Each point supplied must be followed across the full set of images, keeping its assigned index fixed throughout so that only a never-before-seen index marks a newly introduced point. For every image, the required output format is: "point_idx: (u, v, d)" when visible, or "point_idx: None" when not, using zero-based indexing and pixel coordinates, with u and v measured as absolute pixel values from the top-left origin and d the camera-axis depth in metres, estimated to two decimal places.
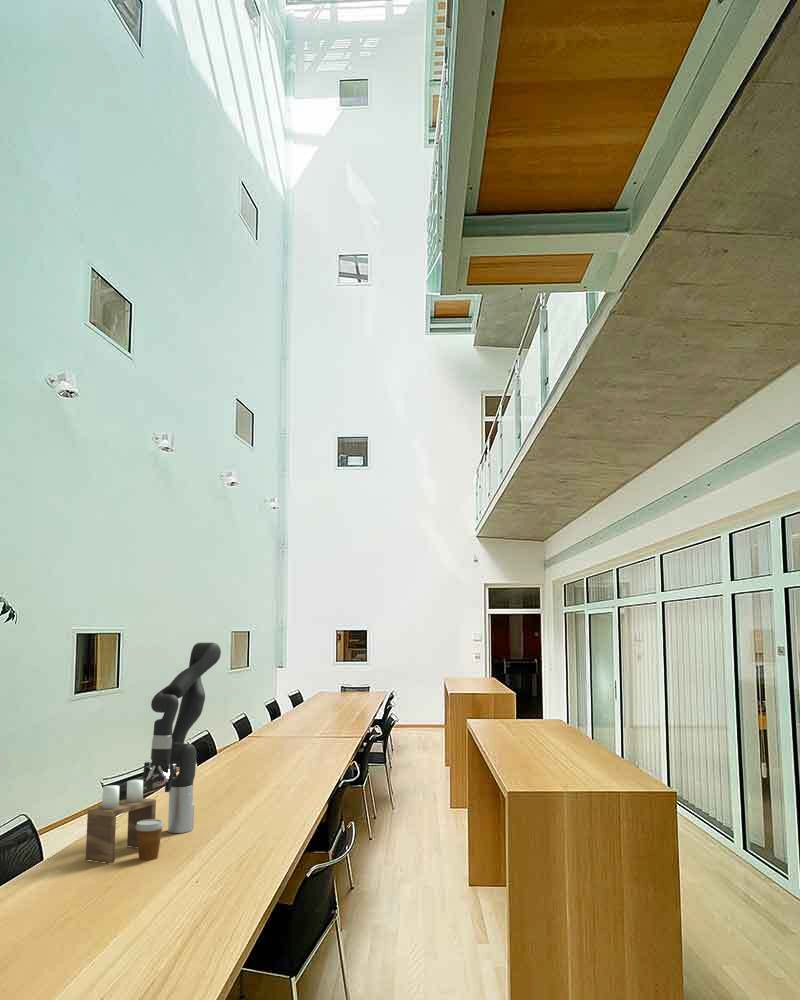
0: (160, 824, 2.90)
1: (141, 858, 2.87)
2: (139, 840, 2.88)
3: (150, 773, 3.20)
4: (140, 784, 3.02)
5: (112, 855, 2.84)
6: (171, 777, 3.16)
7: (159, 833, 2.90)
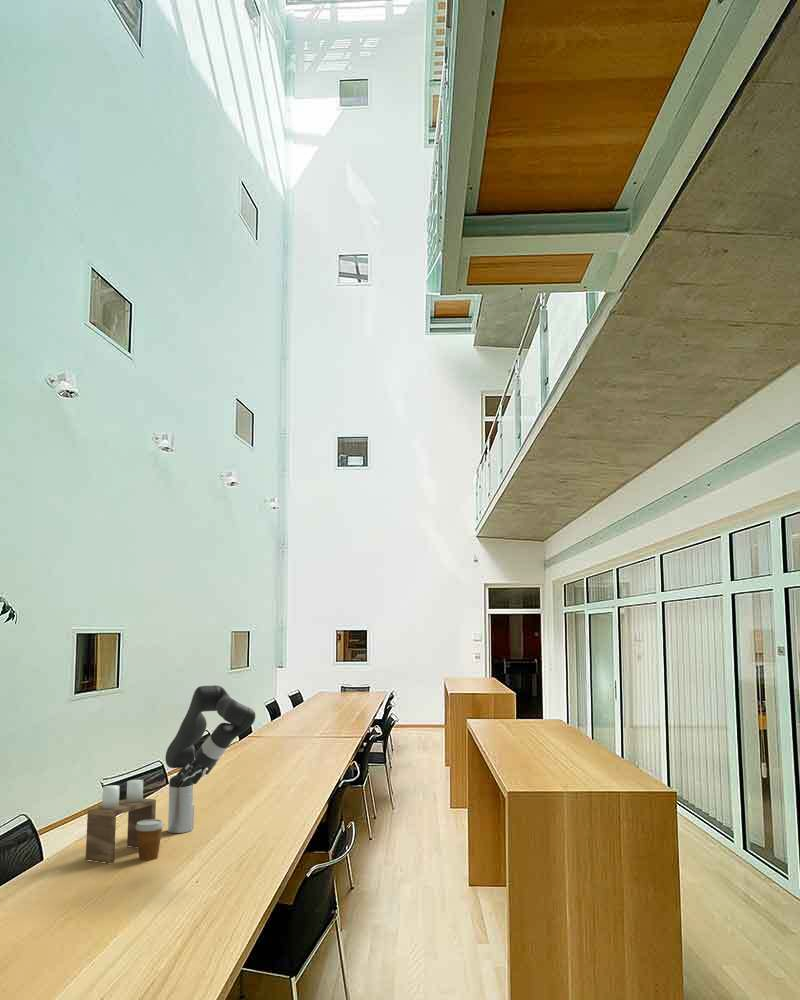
0: (160, 824, 2.90)
1: (141, 858, 2.87)
2: (139, 840, 2.88)
3: (192, 775, 2.82)
4: (140, 784, 3.02)
5: (112, 855, 2.84)
6: (208, 772, 2.91)
7: (159, 833, 2.90)
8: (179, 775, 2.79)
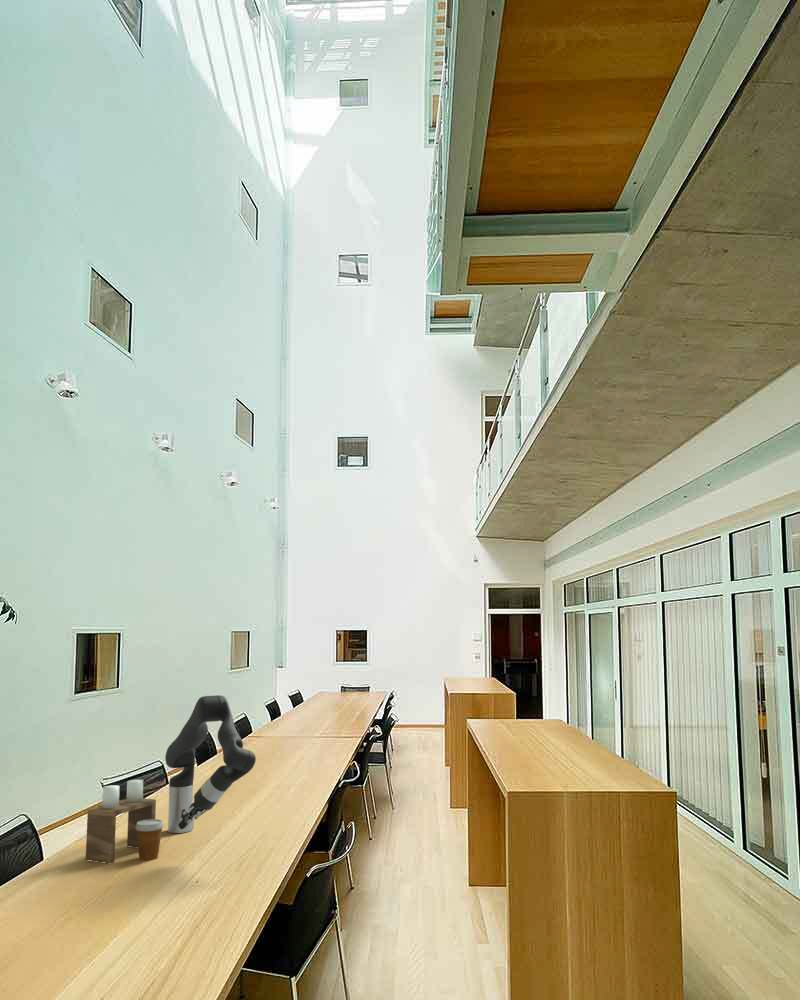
0: (160, 824, 2.90)
1: (141, 858, 2.87)
2: (139, 840, 2.88)
3: (193, 817, 2.83)
4: (140, 784, 3.02)
5: (112, 855, 2.84)
6: (197, 817, 2.87)
7: (159, 833, 2.90)
8: (183, 818, 2.82)
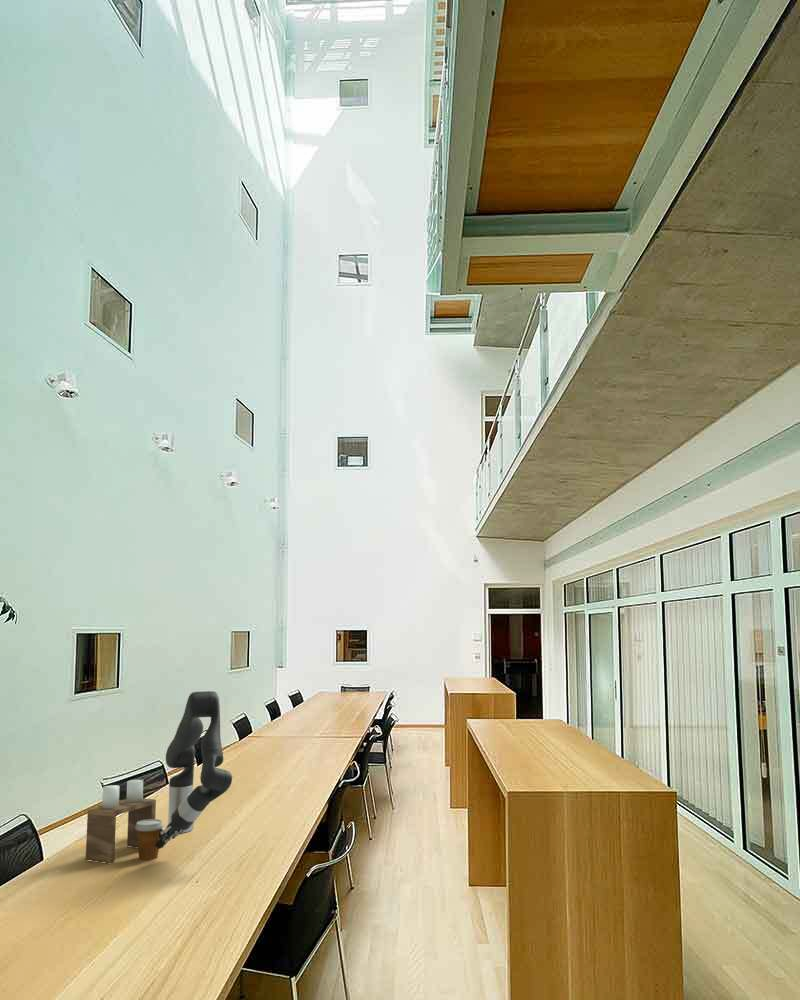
0: (160, 824, 2.90)
1: (141, 858, 2.87)
2: (139, 840, 2.88)
3: (171, 837, 2.86)
4: (140, 784, 3.02)
5: (112, 855, 2.84)
6: (175, 836, 2.90)
7: None
8: (160, 838, 2.85)
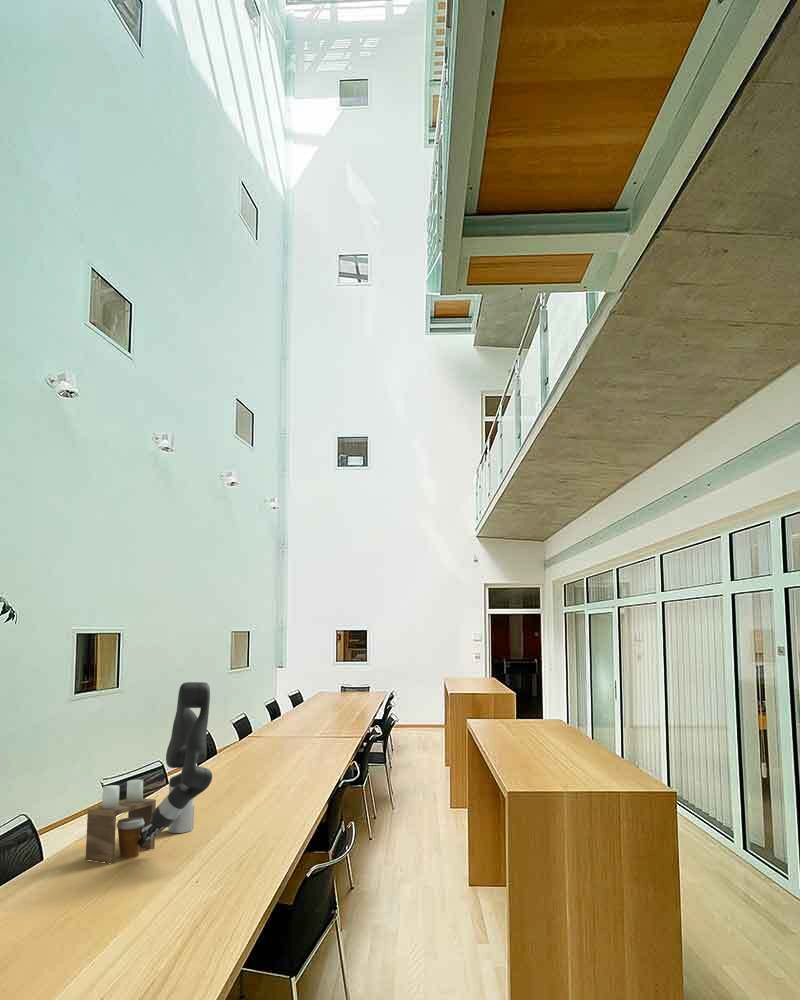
0: (141, 822, 2.93)
1: (122, 856, 2.90)
2: (120, 838, 2.91)
3: (152, 834, 2.89)
4: (140, 784, 3.02)
5: (112, 855, 2.84)
6: (156, 834, 2.93)
7: None
8: (141, 835, 2.88)
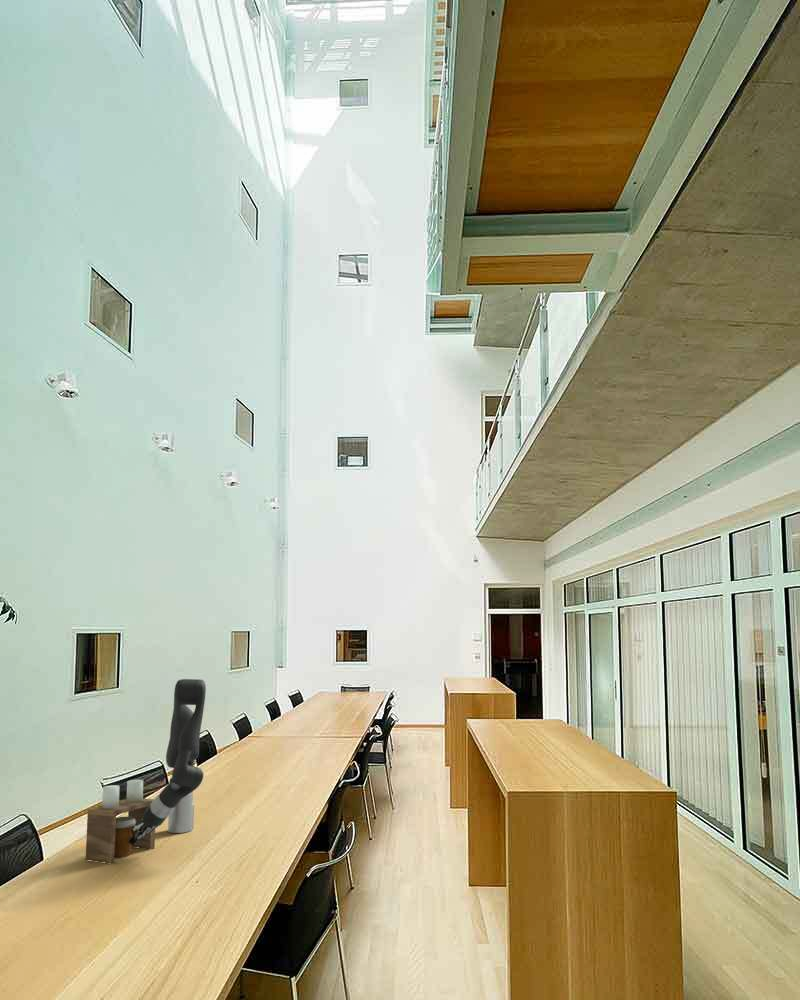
0: (133, 821, 2.95)
1: (114, 855, 2.91)
2: None
3: (143, 833, 2.91)
4: (140, 784, 3.02)
5: (112, 855, 2.84)
6: (148, 833, 2.94)
7: None
8: (133, 834, 2.90)
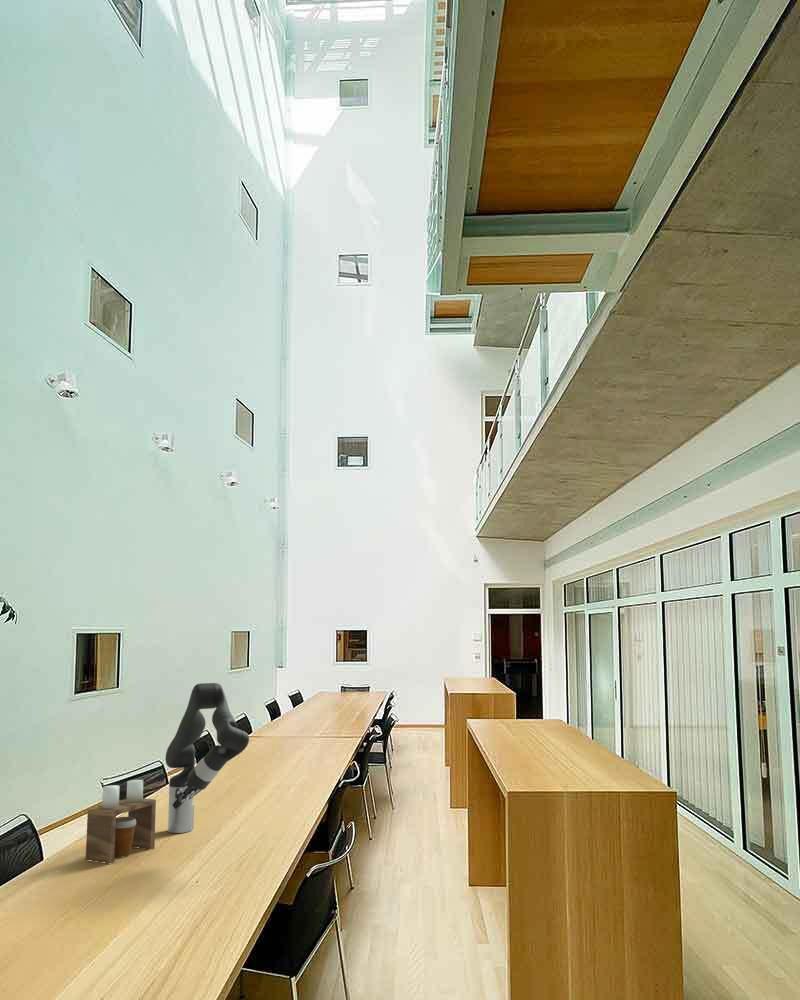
0: (133, 821, 2.95)
1: (114, 855, 2.91)
2: None
3: (187, 797, 2.85)
4: (140, 784, 3.02)
5: (112, 855, 2.84)
6: (191, 797, 2.89)
7: (132, 830, 2.94)
8: (177, 798, 2.84)
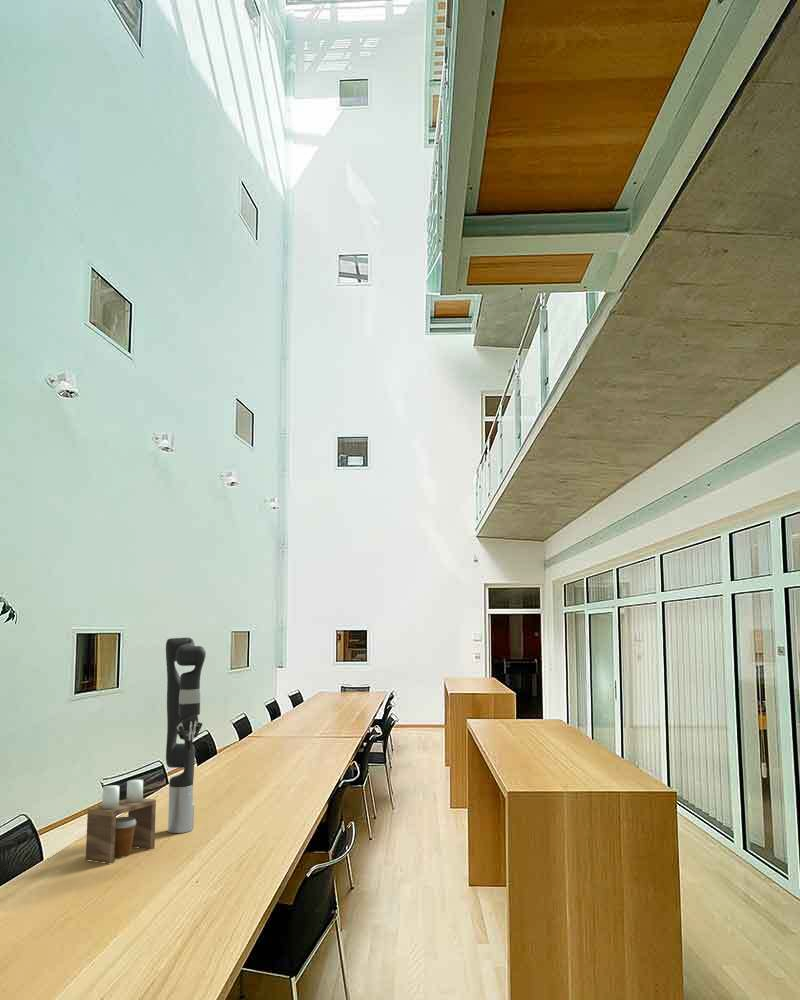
0: (133, 821, 2.95)
1: (114, 855, 2.91)
2: None
3: (190, 731, 3.00)
4: (140, 784, 3.02)
5: (112, 855, 2.84)
6: (196, 734, 3.03)
7: (132, 830, 2.94)
8: (182, 737, 2.99)
